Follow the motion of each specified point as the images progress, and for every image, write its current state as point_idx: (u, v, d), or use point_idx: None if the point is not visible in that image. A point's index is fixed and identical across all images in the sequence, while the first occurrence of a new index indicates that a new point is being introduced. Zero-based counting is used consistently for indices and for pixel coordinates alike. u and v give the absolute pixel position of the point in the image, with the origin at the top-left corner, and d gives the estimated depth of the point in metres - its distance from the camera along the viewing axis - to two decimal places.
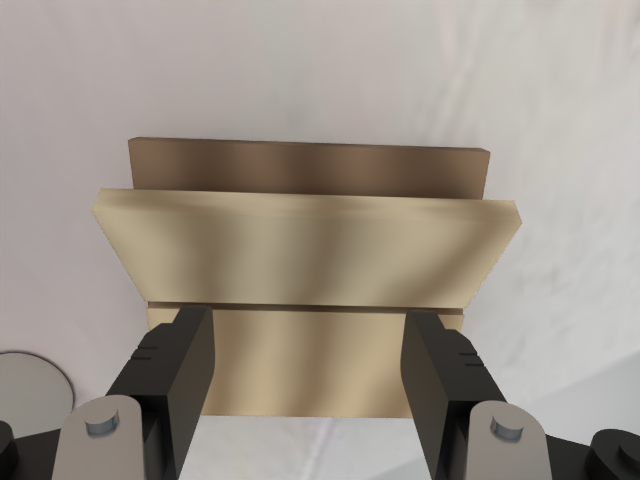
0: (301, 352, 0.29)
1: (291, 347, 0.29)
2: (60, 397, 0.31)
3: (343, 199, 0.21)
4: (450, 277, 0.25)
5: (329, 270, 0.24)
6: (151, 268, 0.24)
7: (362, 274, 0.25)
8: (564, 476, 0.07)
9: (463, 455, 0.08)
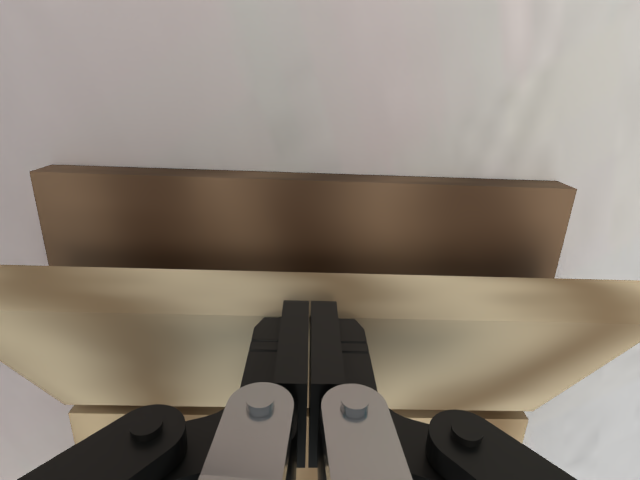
0: None
1: None
2: None
3: (362, 281, 0.13)
4: (522, 383, 0.16)
5: None
6: (60, 373, 0.15)
7: (387, 379, 0.16)
8: None
9: (319, 435, 0.08)
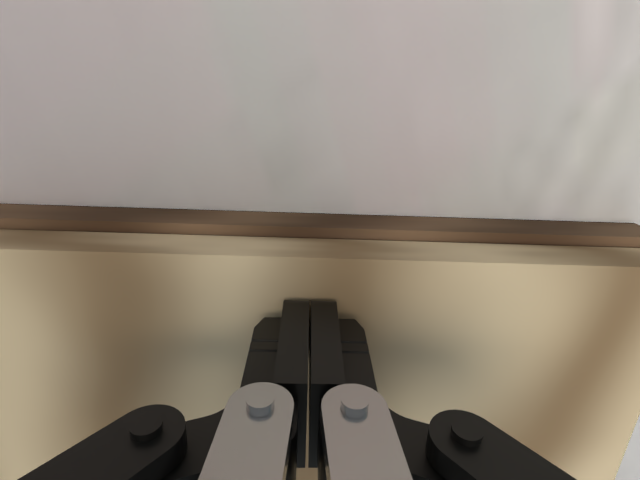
0: None
1: None
2: None
3: (369, 243, 0.12)
4: (574, 415, 0.13)
5: None
6: (11, 399, 0.13)
7: (410, 408, 0.13)
8: None
9: (319, 435, 0.08)
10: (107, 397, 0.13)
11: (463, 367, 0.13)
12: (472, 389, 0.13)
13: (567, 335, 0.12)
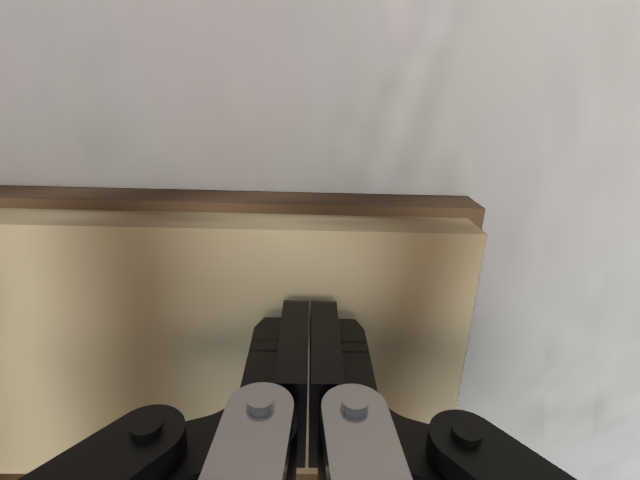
0: None
1: None
2: None
3: (173, 214, 0.12)
4: (394, 387, 0.13)
5: (159, 373, 0.13)
6: None
7: (226, 382, 0.13)
8: None
9: (319, 435, 0.08)
10: None
11: None
12: None
13: (370, 304, 0.12)
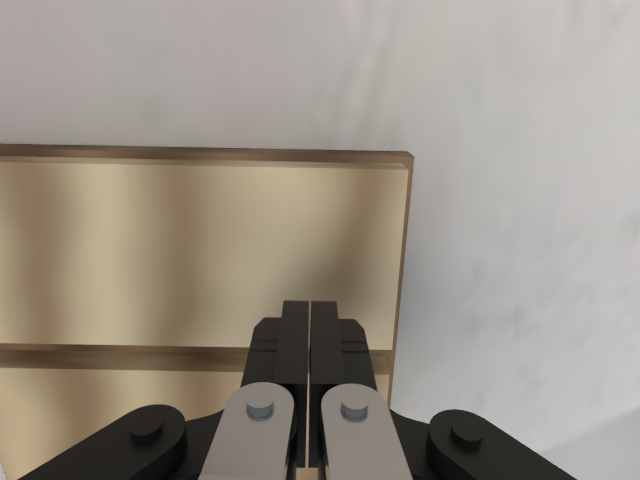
0: None
1: None
2: None
3: (203, 160, 0.18)
4: (352, 281, 0.19)
5: (193, 269, 0.19)
6: None
7: (237, 276, 0.19)
8: None
9: (319, 435, 0.08)
10: (32, 268, 0.19)
11: (268, 244, 0.19)
12: (277, 261, 0.19)
13: (334, 219, 0.18)
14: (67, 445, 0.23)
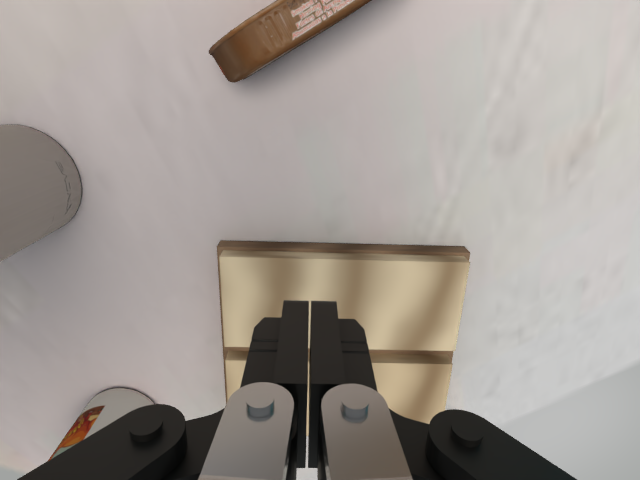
0: None
1: None
2: None
3: (363, 254, 0.36)
4: (437, 315, 0.37)
5: (356, 309, 0.37)
6: (240, 309, 0.37)
7: (378, 312, 0.37)
8: None
9: (319, 435, 0.08)
10: (273, 308, 0.37)
11: (396, 297, 0.36)
12: (400, 305, 0.37)
13: (431, 285, 0.36)
14: None
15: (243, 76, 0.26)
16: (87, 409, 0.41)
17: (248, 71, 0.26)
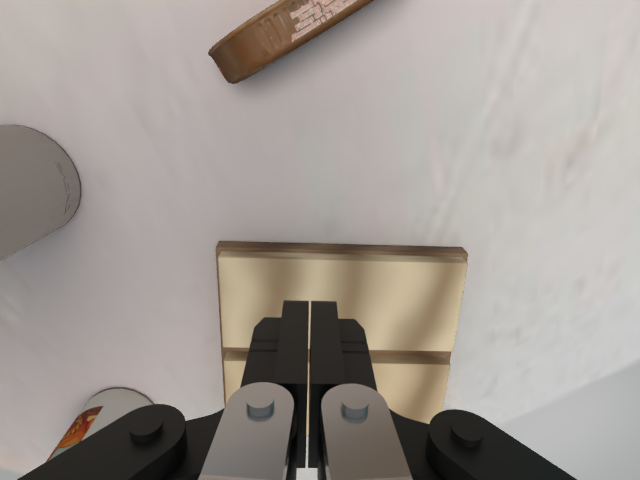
0: None
1: None
2: None
3: (362, 255, 0.36)
4: (435, 316, 0.37)
5: (354, 310, 0.37)
6: (238, 309, 0.37)
7: (377, 313, 0.37)
8: None
9: (319, 435, 0.08)
10: (271, 309, 0.37)
11: (394, 297, 0.37)
12: (398, 306, 0.37)
13: (429, 286, 0.36)
14: None
15: (242, 77, 0.27)
16: (85, 409, 0.41)
17: (247, 72, 0.26)
